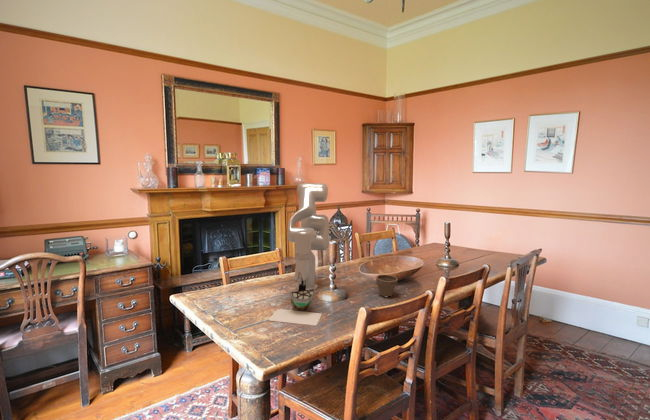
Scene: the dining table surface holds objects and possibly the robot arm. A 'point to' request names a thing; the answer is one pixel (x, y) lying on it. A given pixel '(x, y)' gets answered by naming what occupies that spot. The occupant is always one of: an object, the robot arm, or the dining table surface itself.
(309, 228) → the robot arm
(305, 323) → the mat
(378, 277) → the flower pot
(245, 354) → the dining table surface
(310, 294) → the food container
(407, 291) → the dining table surface
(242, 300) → the dining table surface
